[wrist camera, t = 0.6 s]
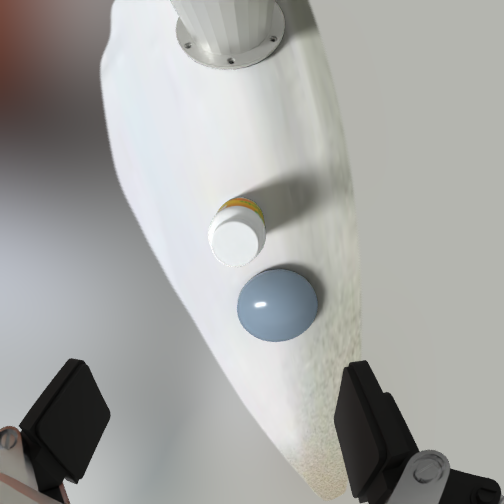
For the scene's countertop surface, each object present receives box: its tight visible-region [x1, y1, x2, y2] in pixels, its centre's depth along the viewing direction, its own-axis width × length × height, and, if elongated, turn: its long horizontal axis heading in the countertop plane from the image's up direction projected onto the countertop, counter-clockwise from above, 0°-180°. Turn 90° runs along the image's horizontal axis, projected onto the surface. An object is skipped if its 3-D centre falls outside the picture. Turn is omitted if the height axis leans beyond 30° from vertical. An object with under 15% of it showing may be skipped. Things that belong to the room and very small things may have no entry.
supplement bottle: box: [208, 198, 266, 267], centre depth 28 cm, size 5×5×10 cm
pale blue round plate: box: [237, 269, 318, 342], centre depth 35 cm, size 10×10×2 cm
